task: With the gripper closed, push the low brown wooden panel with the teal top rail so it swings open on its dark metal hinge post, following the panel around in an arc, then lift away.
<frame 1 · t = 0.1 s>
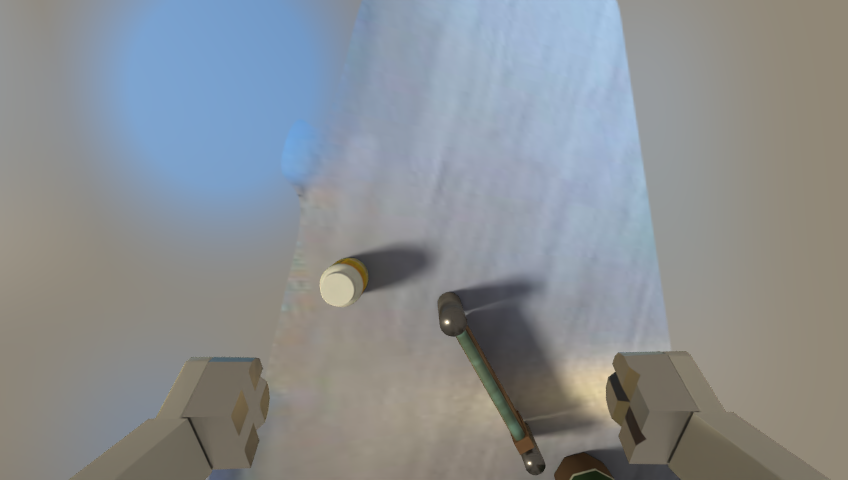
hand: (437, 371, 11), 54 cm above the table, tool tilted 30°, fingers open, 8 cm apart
beer bottle: (579, 475, 69), on the table
supplement bottle: (350, 275, 66), on the table
gate posts: (449, 303, 66), on the table
brown wooden panel: (490, 381, 62), point 5 cm above the table, hinge at 0.0°
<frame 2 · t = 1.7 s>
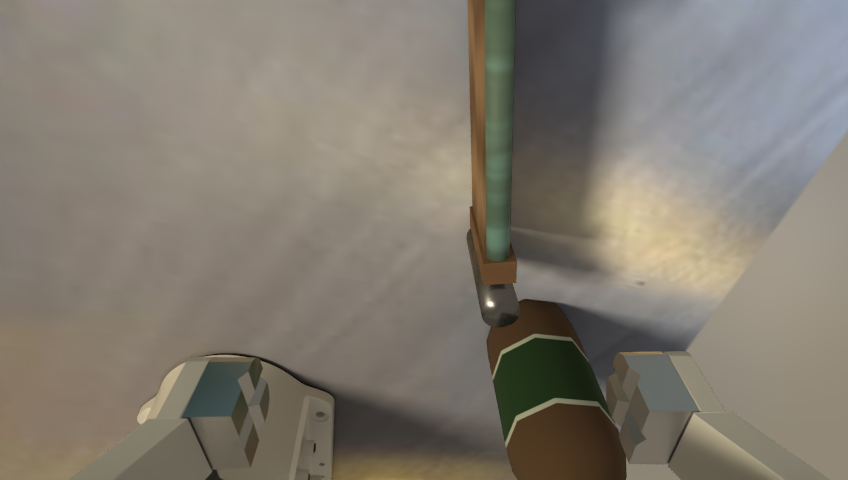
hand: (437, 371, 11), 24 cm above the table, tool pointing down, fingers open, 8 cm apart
beer bottle: (527, 328, 43), on the table
brown wooden panel: (491, 130, 28), point 5 cm above the table, hinge at 0.0°
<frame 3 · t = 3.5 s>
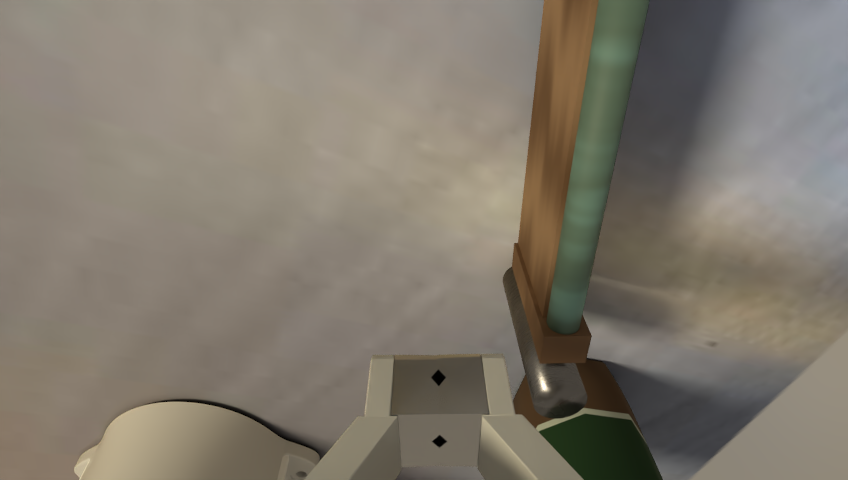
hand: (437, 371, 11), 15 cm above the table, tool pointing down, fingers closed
beer bottle: (563, 388, 35), on the table
brown wooden panel: (568, 150, 20), point 5 cm above the table, hinge at 0.0°
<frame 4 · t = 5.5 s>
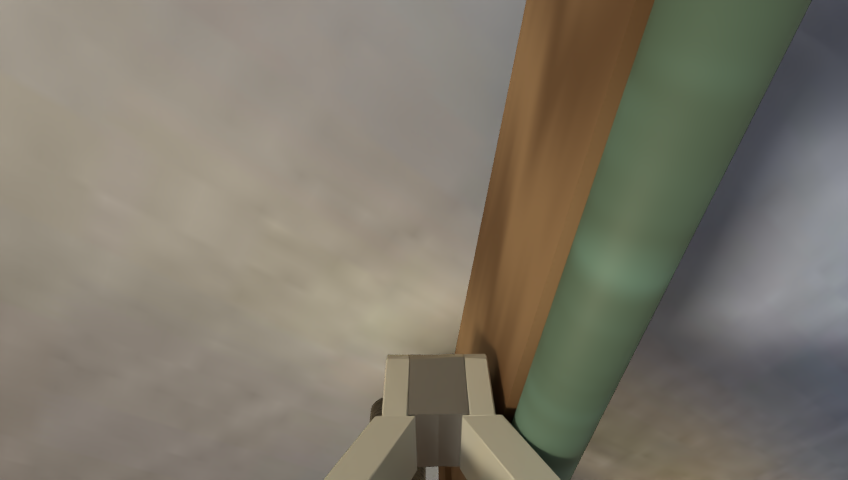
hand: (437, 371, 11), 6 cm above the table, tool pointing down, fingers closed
brown wooden panel: (523, 330, 12), point 5 cm above the table, hinge at 7.0°, touching gripper
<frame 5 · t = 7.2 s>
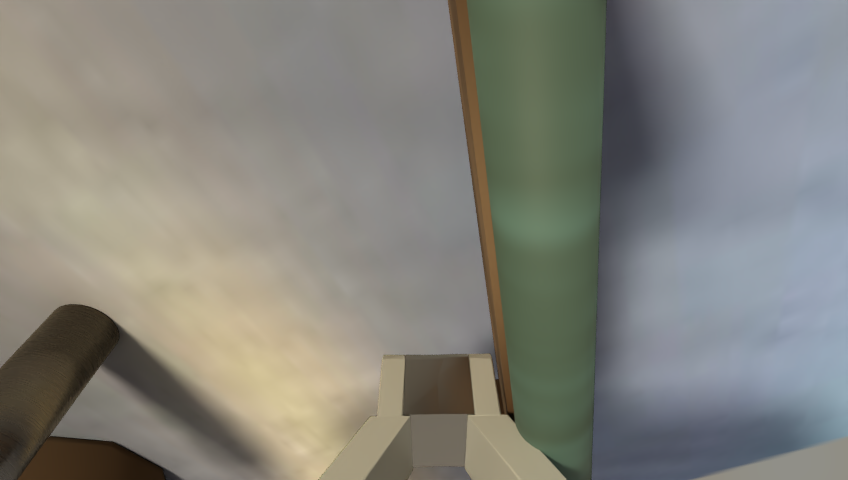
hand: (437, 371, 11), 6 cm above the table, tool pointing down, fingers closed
beer bottle: (100, 474, 24), on the table
brown wooden panel: (526, 304, 11), point 5 cm above the table, hinge at 50.1°, touching gripper
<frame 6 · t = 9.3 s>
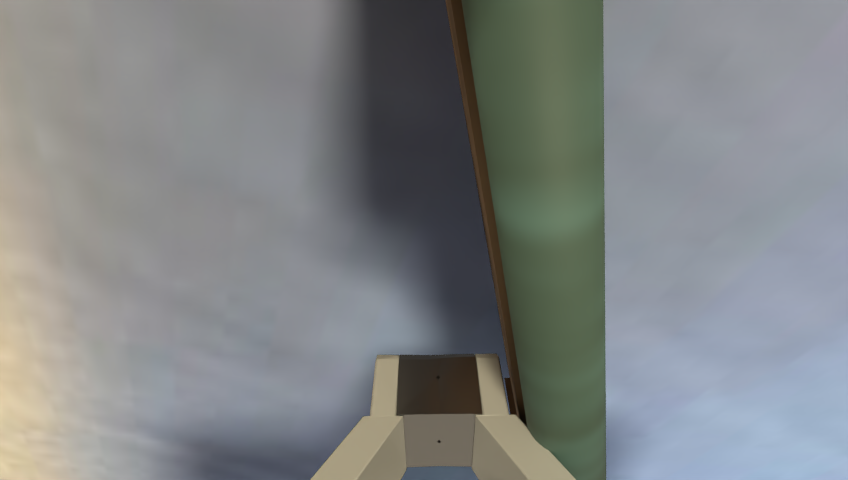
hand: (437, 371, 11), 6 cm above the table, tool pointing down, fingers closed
brown wooden panel: (534, 300, 11), point 5 cm above the table, hinge at 91.4°, touching gripper
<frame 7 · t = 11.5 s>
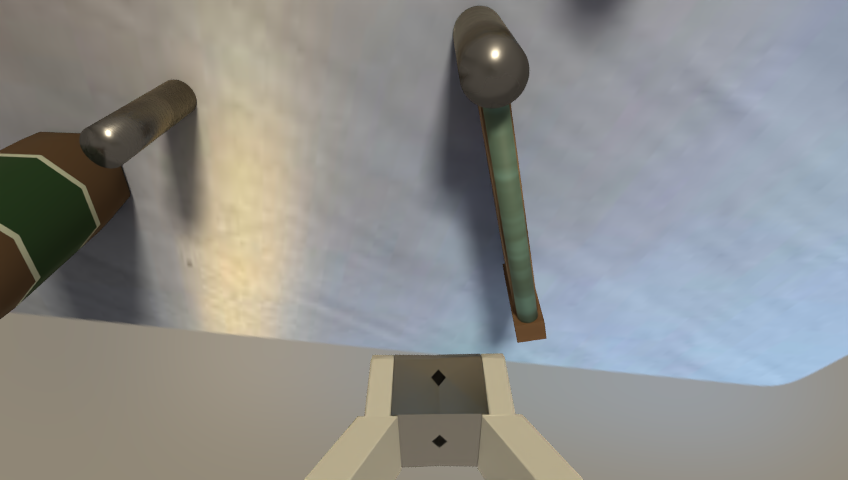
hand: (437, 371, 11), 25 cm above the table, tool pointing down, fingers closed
beer bottle: (82, 173, 37), on the table
gate posts: (478, 33, 31), on the table
brown wooden panel: (509, 212, 32), point 5 cm above the table, hinge at 91.4°
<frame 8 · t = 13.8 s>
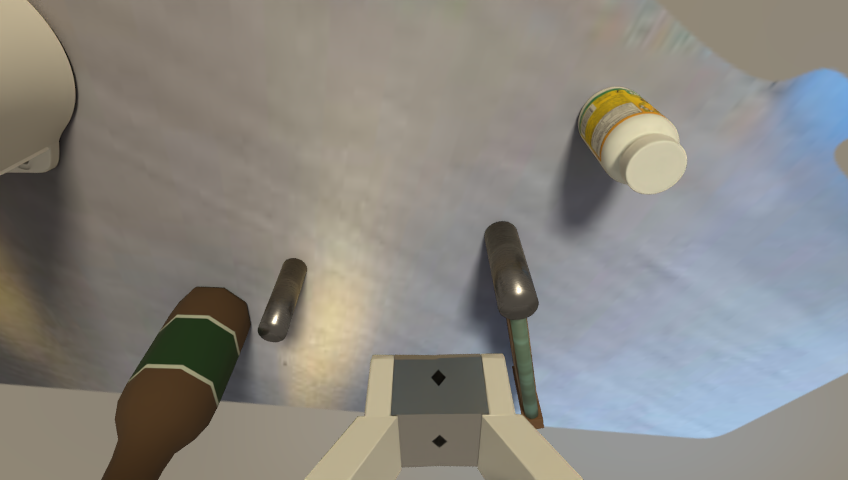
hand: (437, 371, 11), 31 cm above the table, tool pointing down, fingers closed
beer bottle: (217, 309, 52), on the table
supplement bottle: (608, 116, 40), on the table
gate posts: (500, 235, 46), on the table
brown wooden panel: (520, 347, 48), point 5 cm above the table, hinge at 91.4°
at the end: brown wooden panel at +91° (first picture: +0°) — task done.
